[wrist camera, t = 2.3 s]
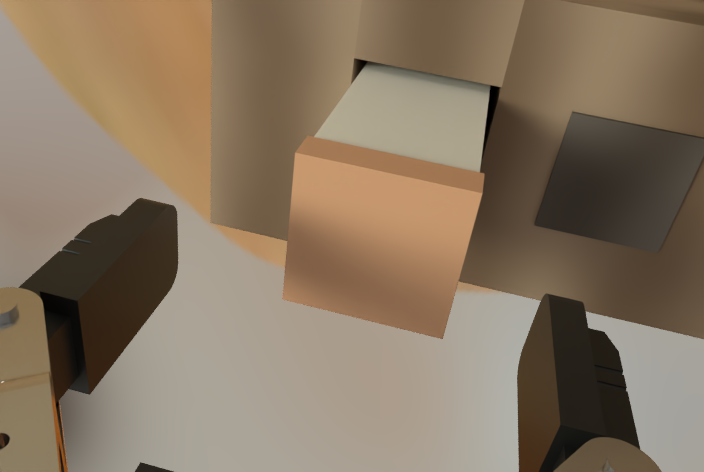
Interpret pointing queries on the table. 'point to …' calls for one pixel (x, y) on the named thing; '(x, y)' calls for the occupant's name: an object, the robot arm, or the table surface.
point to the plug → (388, 199)
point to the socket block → (499, 132)
